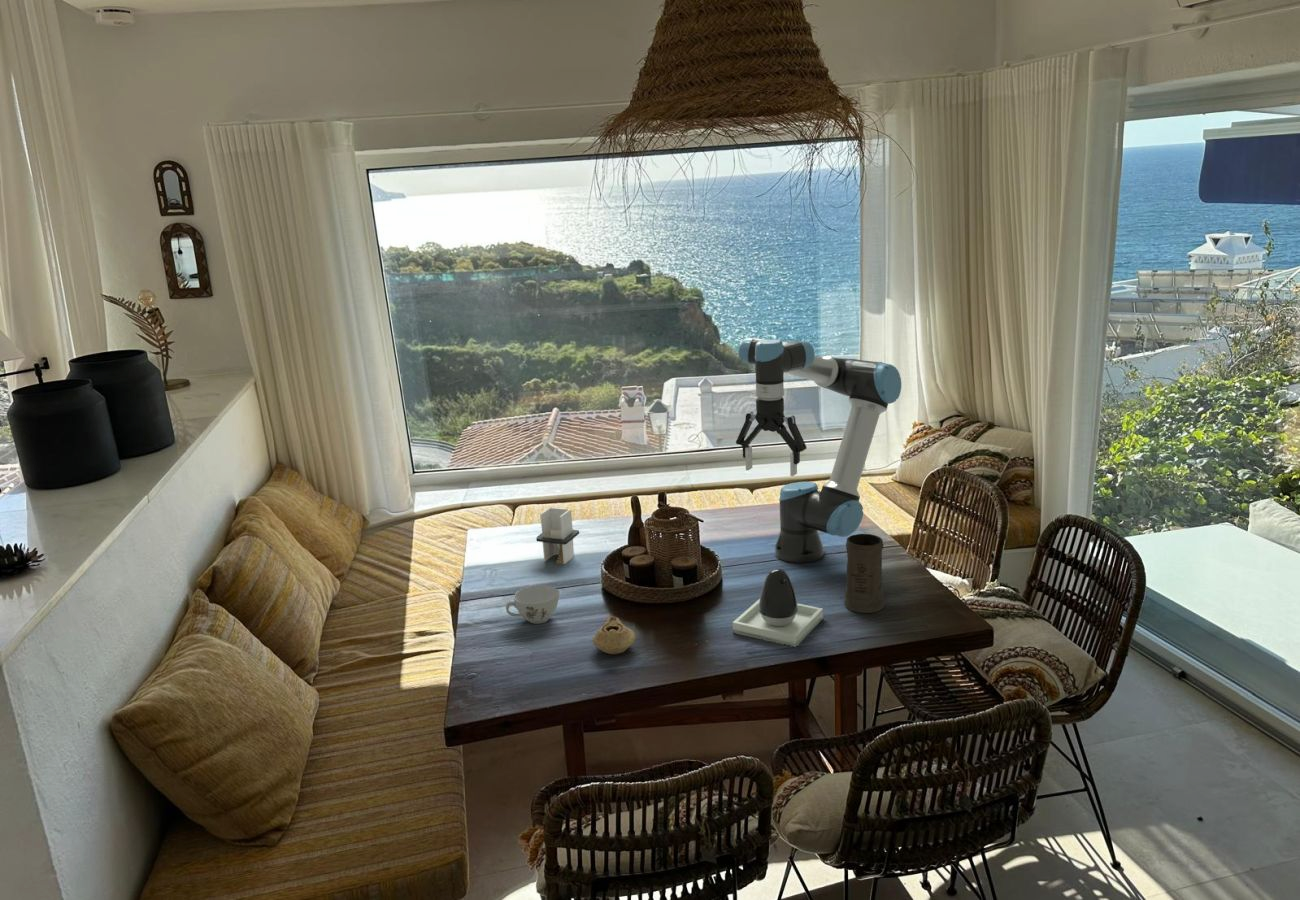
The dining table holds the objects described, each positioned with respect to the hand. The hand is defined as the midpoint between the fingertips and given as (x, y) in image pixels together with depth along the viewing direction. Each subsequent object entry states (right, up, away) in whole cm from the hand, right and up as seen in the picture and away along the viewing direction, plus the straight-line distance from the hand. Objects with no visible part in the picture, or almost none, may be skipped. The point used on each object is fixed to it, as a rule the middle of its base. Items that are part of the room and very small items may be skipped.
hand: (771, 472), depth 262 cm
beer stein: (+26, -37, +2) cm, 45 cm away
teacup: (-66, -42, +1) cm, 78 cm away
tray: (+1, -41, -10) cm, 42 cm away
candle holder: (-63, -30, +44) cm, 82 cm away
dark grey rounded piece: (+1, -40, -10) cm, 41 cm away
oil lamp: (-43, -46, -16) cm, 65 cm away
